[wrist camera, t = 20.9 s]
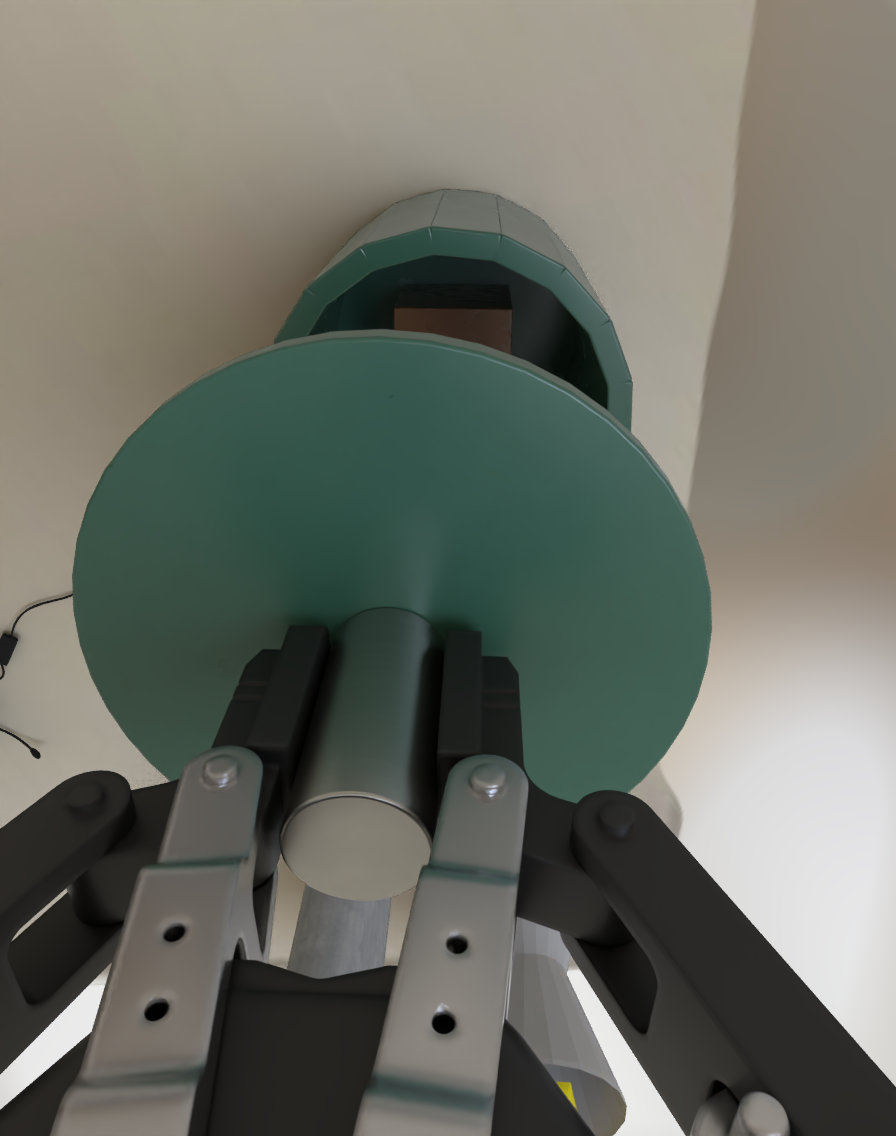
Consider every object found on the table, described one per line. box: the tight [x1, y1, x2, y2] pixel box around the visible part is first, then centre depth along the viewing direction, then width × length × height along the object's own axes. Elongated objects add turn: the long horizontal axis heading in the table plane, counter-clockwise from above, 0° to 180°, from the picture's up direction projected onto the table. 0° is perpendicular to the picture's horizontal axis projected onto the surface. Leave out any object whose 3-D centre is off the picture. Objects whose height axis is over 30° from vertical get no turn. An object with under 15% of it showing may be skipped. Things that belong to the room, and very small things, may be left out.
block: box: [393, 284, 513, 355], centre depth 34 cm, size 5×5×5 cm
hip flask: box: [287, 884, 391, 979], centre depth 43 cm, size 16×4×20 cm, turn 177°
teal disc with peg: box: [72, 329, 712, 901], centre depth 15 cm, size 13×13×6 cm
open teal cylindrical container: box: [274, 189, 633, 432], centre depth 31 cm, size 12×12×12 cm
